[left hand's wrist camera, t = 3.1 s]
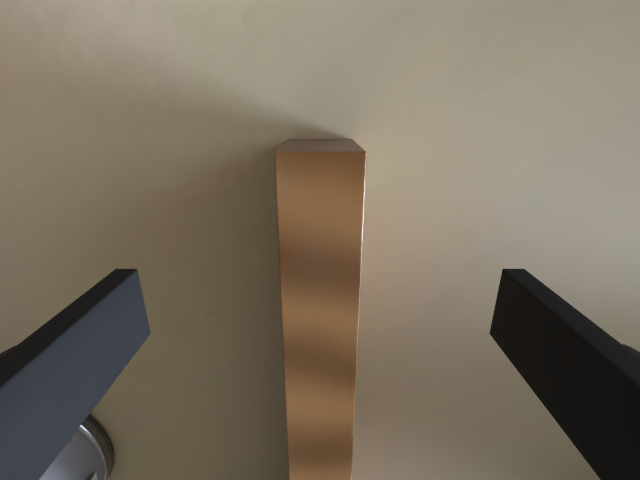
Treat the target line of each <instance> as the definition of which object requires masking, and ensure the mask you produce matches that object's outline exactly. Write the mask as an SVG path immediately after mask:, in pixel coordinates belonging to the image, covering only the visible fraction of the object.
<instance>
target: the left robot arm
mask: <svg viewBox="0 0 640 480" xmlns="http://www.w3.org/2000/svg"><path fill="white" fill-rule="evenodd" d="M149 335H150V329H149V324H148V319H147V314H146V309H145V305H144V300H143V295H142V290H141V285H140V280H139V275H138V270H137V269H115V270H114V271H113V272H111V273H110V274H109V275H107V276H106V277H105V278H104V279H102V280H101V281H100V282H98V283H97V284H96V285H95V286H93V287H92V288H91V289H89V290H88V291H87V292H86V293H84V294H83V295H82V296H80V297H79V298H78V299H77V300H75V301H74V302H73V303H71V304H70V305H69V306H67V307H66V308H65V309H64V310H62V311H61V312H60V313H58V314H57V315H56V316H55V317H53V318H52V319H51V320H49V321H48V322H47V323H46V324H44V325H43V326H42V327H40V328H39V329H38V330H37V331H35V332H34V333H33V334H31V335H30V336H29V337H27V338H26V339H25V340H24V341H22V342H21V343H20V344H18V345H17V346H14V347H12V348H10V349H8V350H6V351H4V352H3V353H1V354H0V480H107V478H108V477H109V475H110V473H111V471H112V468H113V463H114V454H113V449H112V446H111V443H110V441H109V439H108V437H107V435H106V434H105V432H104V431H103V429H102V428H101V427H100V426H99V425H98V424H97V423H96V421H94V420H93V419H92V418H91V417H90V416H89V414H90V412H91V411H92V410H93V408H94V407H95V406H96V404H97V403H98V402H99V401H100V399H101V398H102V397H103V395H104V394H105V393H106V391H107V390H108V389H109V387H110V386H111V385H112V383H113V382H114V381H115V379H116V378H117V377H118V376H119V374H120V373H121V372H122V370H123V369H124V368H125V366H126V365H127V364H128V362H129V361H130V360H131V358H132V357H133V356H134V355H135V353H136V352H137V351H138V349H139V348H140V347H141V345H142V344H143V343H144V341H145V340H146V339H147V337H148V336H149ZM490 335H491V336H492V337H493V339H494V340H495V341H496V343H497V344H498V345H499V347H500V348H501V349H502V351H503V352H504V353H505V355H506V356H507V357H508V358H509V360H510V361H511V362H512V364H513V365H514V366H515V368H516V369H517V370H518V372H519V373H520V374H521V376H522V377H523V378H524V379H525V381H526V382H527V383H528V385H529V386H530V387H531V389H532V390H533V391H534V393H535V394H536V395H537V397H538V398H539V399H540V401H541V402H542V403H543V404H544V406H545V407H546V408H547V410H548V411H549V412H550V414H551V415H552V416H553V418H554V419H555V420H556V422H557V423H558V424H559V425H560V427H561V428H562V429H563V431H564V432H565V433H566V435H567V436H568V437H569V439H570V440H571V441H572V443H573V444H574V445H575V446H576V448H577V449H578V450H579V452H580V453H581V454H582V456H583V457H584V458H585V460H586V461H587V462H588V464H589V465H590V466H591V467H592V469H593V470H594V471H595V473H596V474H597V475H598V477H599V478H600V479H601V480H640V352H638V351H637V350H635V349H633V348H631V347H629V346H627V345H625V344H620V343H619V342H618V341H616V340H615V339H614V338H613V337H611V336H610V335H609V334H607V333H606V332H605V331H603V330H602V329H601V328H600V327H598V326H597V325H596V324H594V323H593V322H592V321H591V320H589V319H588V318H587V317H585V316H584V315H583V314H582V313H580V312H579V311H578V310H576V309H575V308H574V307H573V306H571V305H570V304H569V303H567V302H566V301H565V300H563V299H562V298H561V297H560V296H558V295H557V294H556V293H554V292H553V291H552V290H551V289H549V288H548V287H547V286H545V285H544V284H543V283H542V282H540V281H539V280H538V279H536V278H535V277H534V276H533V275H531V274H530V273H529V272H527V271H526V270H525V269H503V270H502V275H501V280H500V285H499V290H498V295H497V300H496V305H495V309H494V314H493V319H492V324H491V329H490Z"/></svg>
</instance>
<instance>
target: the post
mask: <svg viewBox="0 0 640 480" xmlns="http://www.w3.org/2000/svg"><path fill="white" fill-rule="evenodd" d="M365 171H366V151H365V150H364V149H362V148H361V147H360V146H359V145H358V144H357V143H356V142H355V141H353V140H352V139H288V140H287V141H286V142H285V143H284V144H283V145H282V146H281V147H280V148H278V149H277V150H276V151H275V173H276V196H277V218H278V241H279V263H280V285H281V308H282V330H283V352H284V375H285V397H286V420H287V442H288V464H289V480H351V478H352V456H353V434H354V412H355V391H356V369H357V347H358V325H359V303H360V281H361V259H362V237H363V215H364V193H365Z"/></svg>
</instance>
